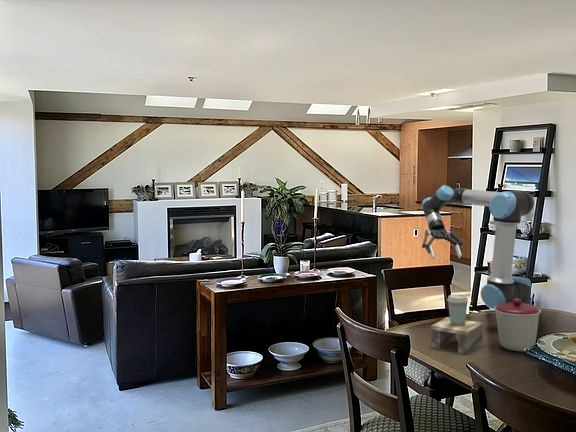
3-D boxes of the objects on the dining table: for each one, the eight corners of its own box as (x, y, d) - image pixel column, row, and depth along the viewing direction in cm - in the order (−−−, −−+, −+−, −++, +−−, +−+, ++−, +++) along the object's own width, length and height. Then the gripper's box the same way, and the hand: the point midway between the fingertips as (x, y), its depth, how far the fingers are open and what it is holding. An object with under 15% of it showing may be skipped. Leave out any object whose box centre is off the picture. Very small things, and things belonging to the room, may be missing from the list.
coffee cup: (469, 327, 230) (469, 298, 229) (448, 326, 232) (448, 298, 231) (466, 321, 239) (466, 294, 238) (446, 321, 240) (446, 293, 239)
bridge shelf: (482, 344, 237) (482, 322, 236) (467, 354, 225) (467, 331, 224) (447, 338, 247) (447, 317, 246) (431, 347, 235) (430, 325, 234)
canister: (550, 352, 224) (550, 301, 222) (509, 356, 221) (509, 304, 219) (524, 339, 242) (524, 292, 240) (485, 343, 239) (485, 295, 237)
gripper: (457, 227, 285) (469, 260, 272) (410, 229, 283) (419, 263, 269) (461, 218, 280) (473, 251, 266) (413, 219, 277) (423, 253, 264)
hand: (446, 257), depth 268 cm, fingers open, 13 cm apart
